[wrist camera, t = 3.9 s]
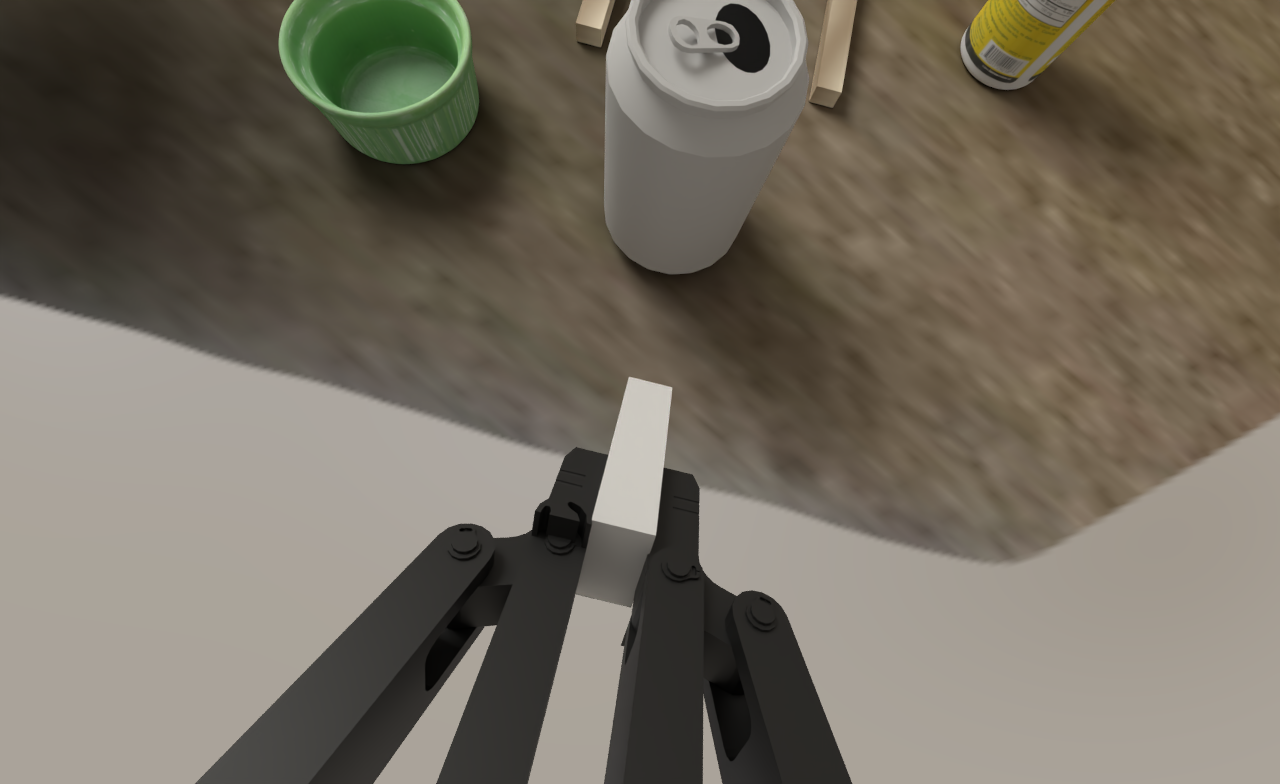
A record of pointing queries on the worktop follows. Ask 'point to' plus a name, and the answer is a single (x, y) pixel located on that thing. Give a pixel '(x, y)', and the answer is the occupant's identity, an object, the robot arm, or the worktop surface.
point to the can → (696, 122)
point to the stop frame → (828, 59)
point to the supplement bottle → (1023, 37)
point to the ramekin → (385, 72)
